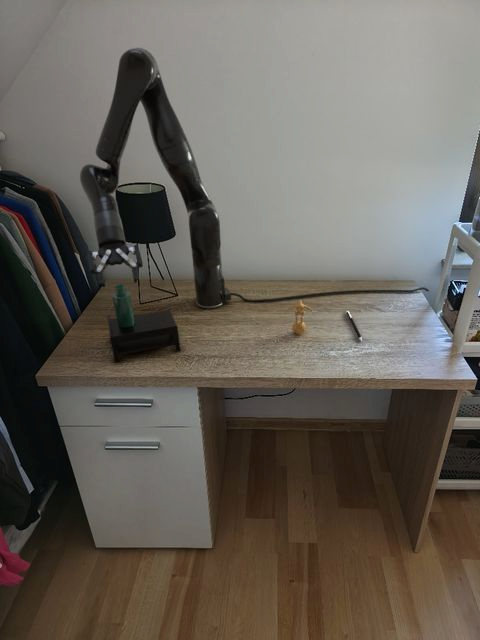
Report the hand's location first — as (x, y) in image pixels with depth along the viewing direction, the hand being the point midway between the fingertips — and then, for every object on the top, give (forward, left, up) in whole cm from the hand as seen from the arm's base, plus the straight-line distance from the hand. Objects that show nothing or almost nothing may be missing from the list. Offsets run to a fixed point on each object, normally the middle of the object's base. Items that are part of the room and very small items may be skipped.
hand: (119, 283), depth 133 cm
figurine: (-48, +14, -18) cm, 53 cm away
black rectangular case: (-4, +5, -18) cm, 19 cm away
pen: (-66, +14, -17) cm, 69 cm away
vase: (0, +3, -11) cm, 11 cm away
